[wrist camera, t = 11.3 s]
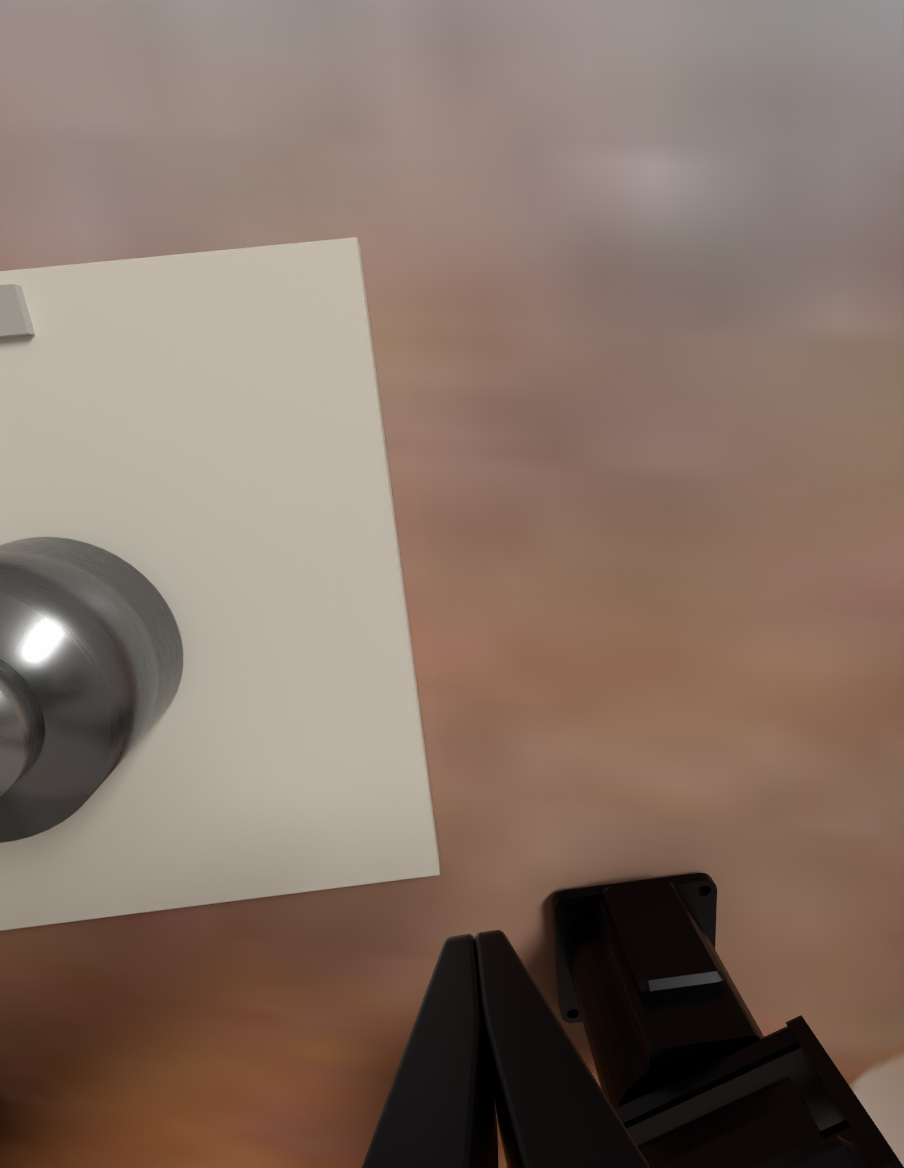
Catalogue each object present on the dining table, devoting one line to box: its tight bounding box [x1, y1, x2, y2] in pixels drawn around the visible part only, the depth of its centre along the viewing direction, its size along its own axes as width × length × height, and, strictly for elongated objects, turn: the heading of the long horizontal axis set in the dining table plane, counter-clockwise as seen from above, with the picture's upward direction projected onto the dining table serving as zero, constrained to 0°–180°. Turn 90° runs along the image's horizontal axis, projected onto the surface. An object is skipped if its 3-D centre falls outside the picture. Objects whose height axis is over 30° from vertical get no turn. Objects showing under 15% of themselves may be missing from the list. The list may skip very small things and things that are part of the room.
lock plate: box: [0, 237, 440, 931], centre depth 18 cm, size 21×21×1 cm
